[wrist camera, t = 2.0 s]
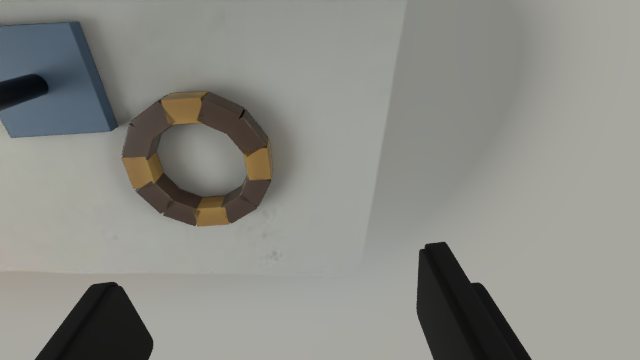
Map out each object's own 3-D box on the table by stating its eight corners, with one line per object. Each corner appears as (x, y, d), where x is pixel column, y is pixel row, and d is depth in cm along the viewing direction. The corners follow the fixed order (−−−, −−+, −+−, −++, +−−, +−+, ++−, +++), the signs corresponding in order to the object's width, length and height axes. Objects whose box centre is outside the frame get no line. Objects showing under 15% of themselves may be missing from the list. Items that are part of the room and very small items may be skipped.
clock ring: (157, 217, 32) (149, 230, 30) (113, 96, 26) (100, 103, 24) (278, 209, 32) (277, 221, 30) (262, 87, 26) (259, 93, 24)
